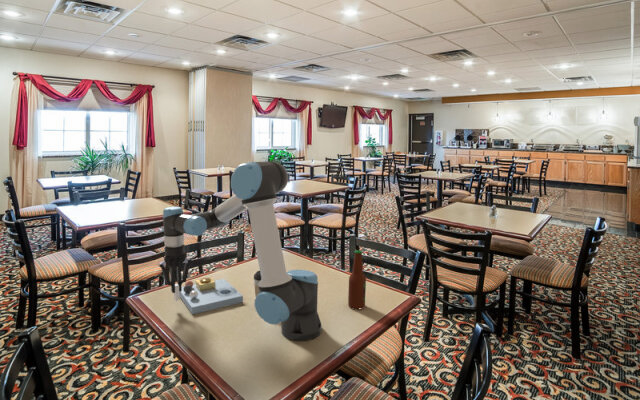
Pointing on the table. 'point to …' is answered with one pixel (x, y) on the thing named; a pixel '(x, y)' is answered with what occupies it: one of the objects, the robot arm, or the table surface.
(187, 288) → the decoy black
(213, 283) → the yellow square block
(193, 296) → the steel ball
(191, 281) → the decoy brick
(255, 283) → the coffee cup
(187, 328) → the table surface
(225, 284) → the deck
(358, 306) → the bottle
